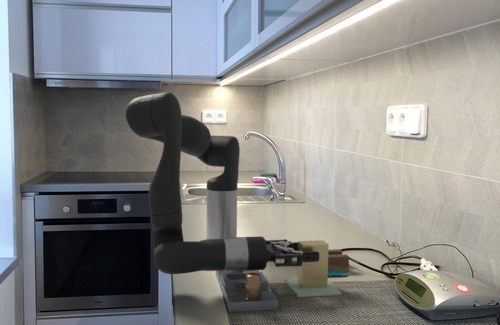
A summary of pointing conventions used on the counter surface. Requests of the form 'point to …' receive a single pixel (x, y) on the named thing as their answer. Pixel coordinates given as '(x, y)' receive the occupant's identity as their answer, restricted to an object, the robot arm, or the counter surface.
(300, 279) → the brushed brass block
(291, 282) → the pad
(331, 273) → the smartphone
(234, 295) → the grey slotted base
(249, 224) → the counter surface
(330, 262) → the phone stand
